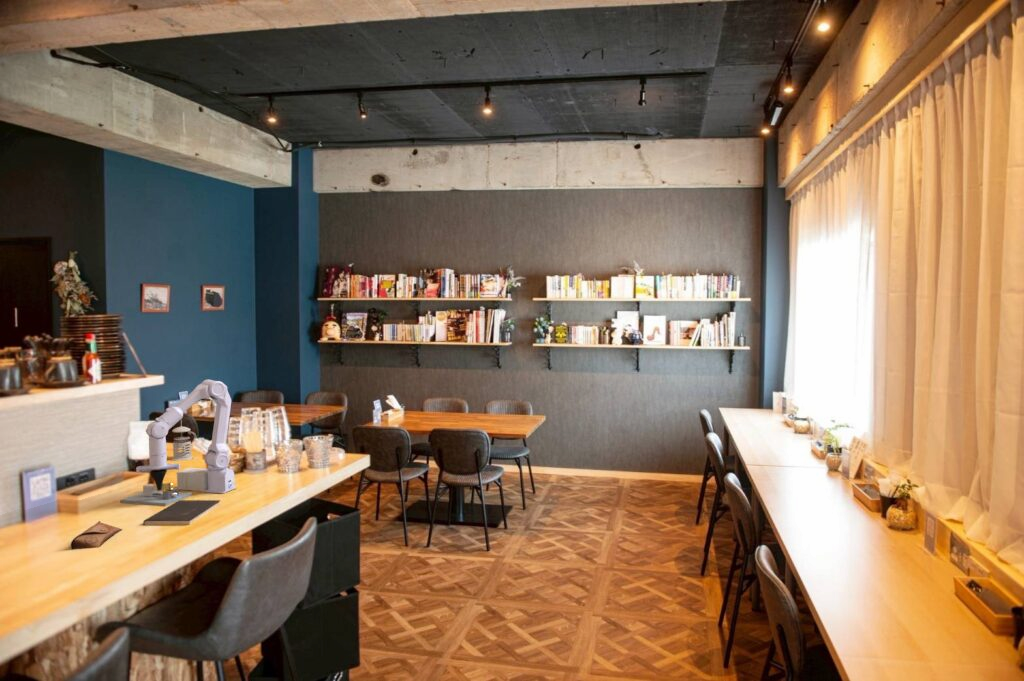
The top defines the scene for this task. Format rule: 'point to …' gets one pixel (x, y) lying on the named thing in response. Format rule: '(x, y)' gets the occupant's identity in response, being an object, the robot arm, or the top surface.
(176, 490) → the grey block
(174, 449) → the french press
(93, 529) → the sunglasses case
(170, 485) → the ball knob lever
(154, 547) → the top surface
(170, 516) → the hardcover book
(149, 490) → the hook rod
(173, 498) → the board
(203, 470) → the supplement box
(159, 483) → the robot arm
